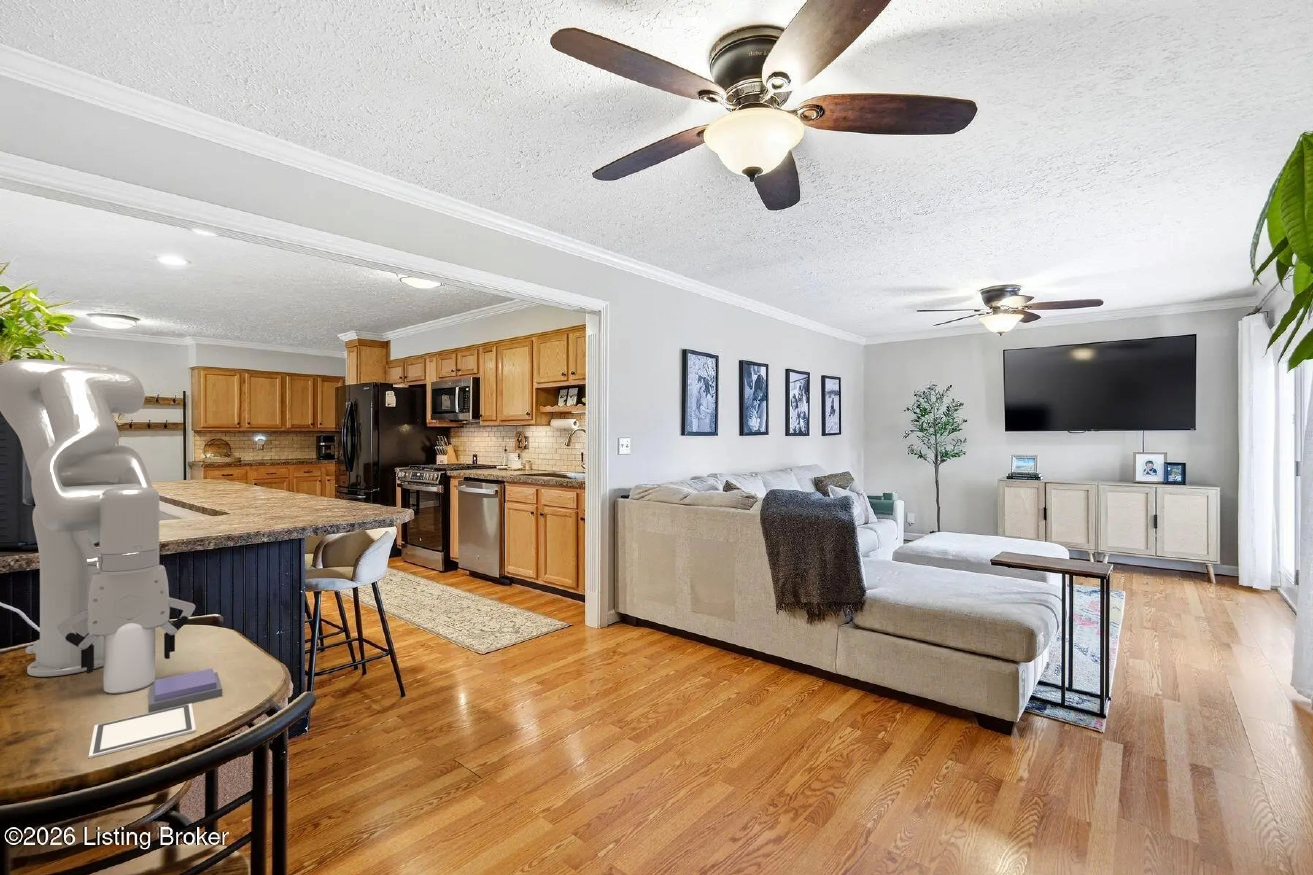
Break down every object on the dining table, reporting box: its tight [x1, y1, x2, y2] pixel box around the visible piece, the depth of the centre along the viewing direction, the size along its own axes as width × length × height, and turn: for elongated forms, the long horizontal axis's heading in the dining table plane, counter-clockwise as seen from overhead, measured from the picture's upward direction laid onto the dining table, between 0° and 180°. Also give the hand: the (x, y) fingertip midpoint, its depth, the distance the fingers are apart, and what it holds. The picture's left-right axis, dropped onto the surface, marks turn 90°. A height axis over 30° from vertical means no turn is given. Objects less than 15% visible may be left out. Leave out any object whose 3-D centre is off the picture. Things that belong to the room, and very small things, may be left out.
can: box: [103, 618, 156, 695], centre depth 100 cm, size 6×6×12 cm
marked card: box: [88, 703, 197, 759], centre depth 85 cm, size 11×11×1 cm
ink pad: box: [148, 668, 223, 713], centre depth 97 cm, size 9×9×2 cm
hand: (129, 663), depth 100 cm, fingers open, 9 cm apart
